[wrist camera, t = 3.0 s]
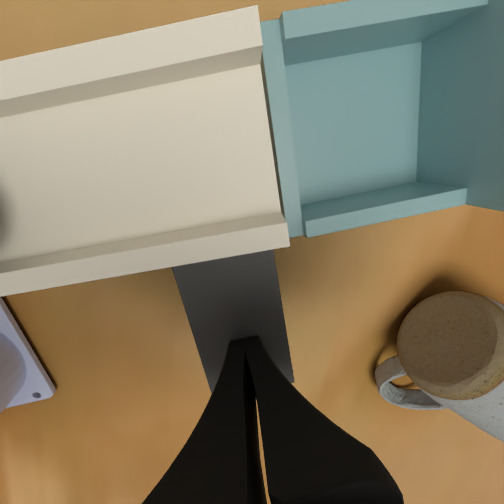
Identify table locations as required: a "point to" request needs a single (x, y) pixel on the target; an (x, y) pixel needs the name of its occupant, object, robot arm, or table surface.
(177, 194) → the cream piece
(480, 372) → the ceramic mug
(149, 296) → the table surface
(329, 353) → the table surface
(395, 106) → the bin
